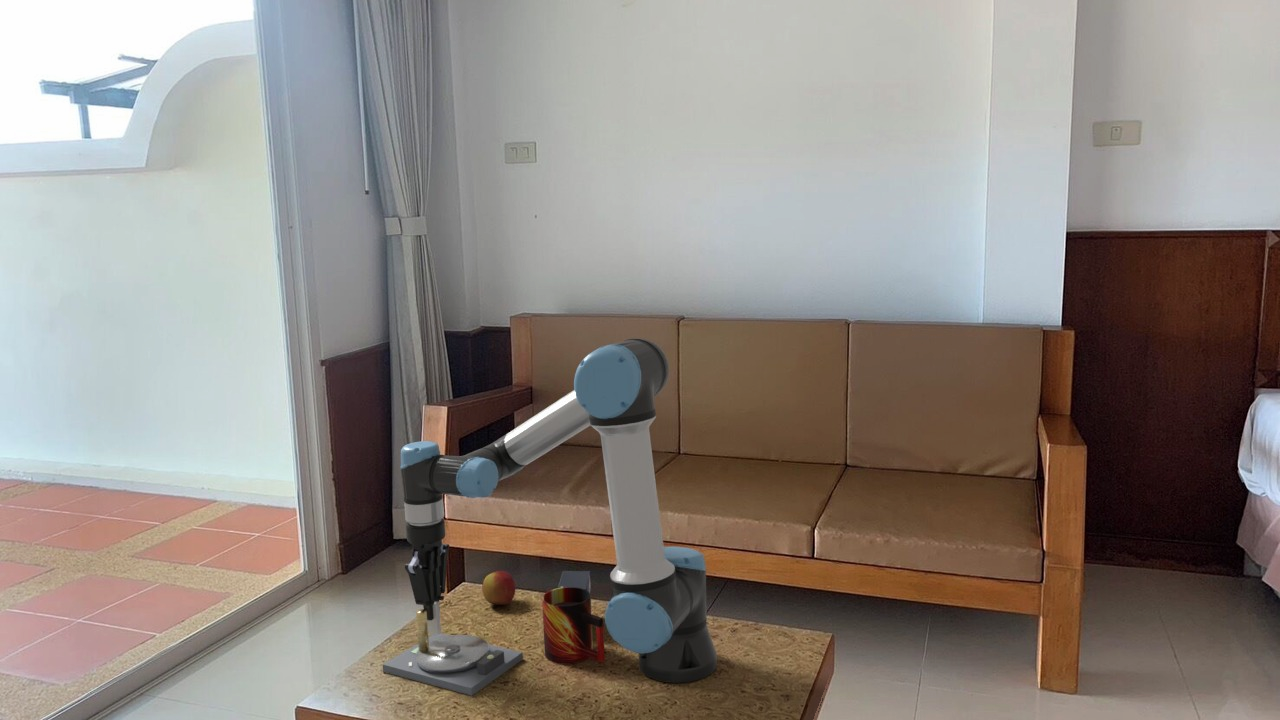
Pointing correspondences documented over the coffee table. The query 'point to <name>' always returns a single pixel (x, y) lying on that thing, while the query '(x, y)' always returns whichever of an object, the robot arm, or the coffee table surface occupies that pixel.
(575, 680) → the coffee table surface
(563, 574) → the small box
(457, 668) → the crank wheel
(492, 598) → the apple
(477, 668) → the record turntable
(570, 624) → the mug
